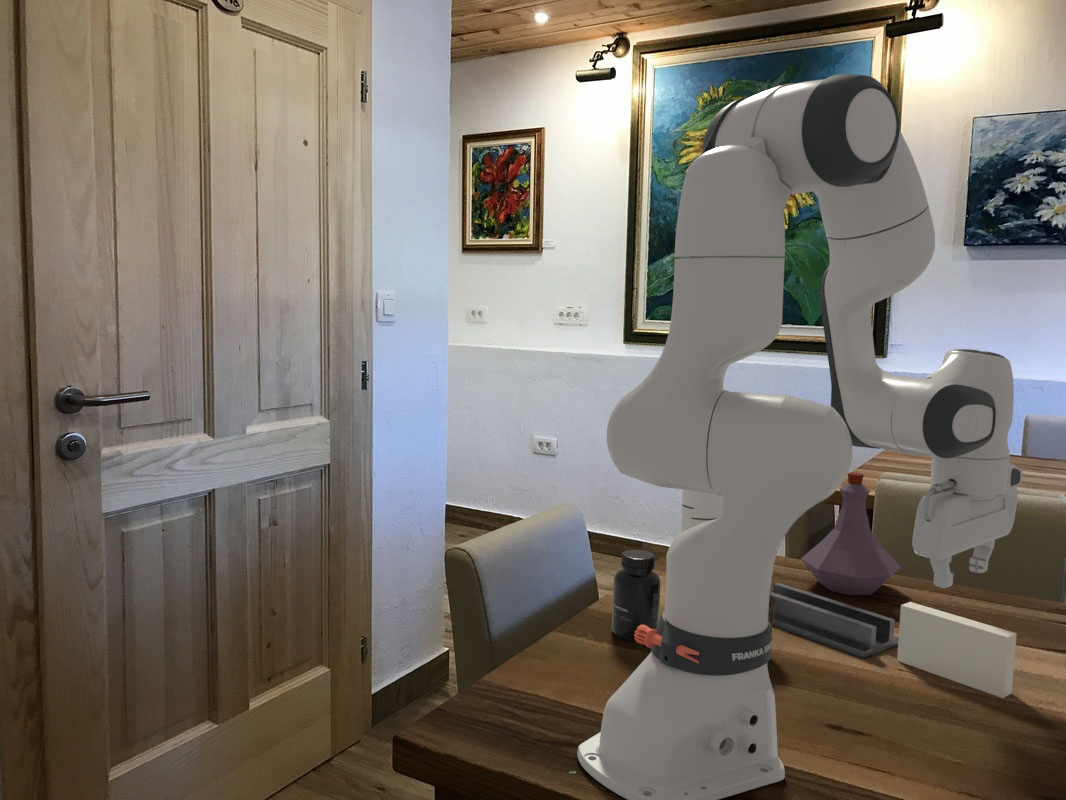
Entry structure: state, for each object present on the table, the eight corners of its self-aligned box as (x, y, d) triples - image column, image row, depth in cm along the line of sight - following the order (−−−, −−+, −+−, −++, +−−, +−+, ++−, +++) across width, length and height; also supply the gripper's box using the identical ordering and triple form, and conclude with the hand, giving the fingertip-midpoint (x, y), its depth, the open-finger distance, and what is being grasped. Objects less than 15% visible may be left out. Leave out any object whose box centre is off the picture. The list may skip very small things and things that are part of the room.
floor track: (898, 644, 124) (900, 617, 124) (863, 658, 119) (865, 630, 118) (782, 604, 140) (783, 580, 139) (747, 615, 134) (748, 591, 134)
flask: (891, 577, 156) (899, 468, 153) (907, 607, 140) (915, 486, 138) (797, 568, 160) (803, 462, 157) (802, 597, 144) (808, 479, 142)
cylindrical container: (696, 564, 161) (701, 432, 158) (727, 574, 155) (733, 437, 153) (671, 571, 156) (676, 435, 153) (702, 582, 151) (708, 441, 148)
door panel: (1011, 694, 109) (1016, 633, 108) (1002, 699, 107) (1007, 637, 106) (906, 657, 120) (910, 601, 119) (897, 661, 118) (900, 605, 117)
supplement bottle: (606, 638, 124) (609, 557, 123) (617, 622, 131) (619, 545, 129) (653, 645, 122) (656, 562, 121) (662, 628, 128) (665, 550, 127)
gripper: (953, 491, 102) (945, 603, 104) (1029, 469, 114) (1020, 570, 116) (902, 481, 107) (895, 588, 109) (980, 461, 119) (973, 558, 121)
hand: (960, 578), depth 112 cm, fingers open, 8 cm apart
